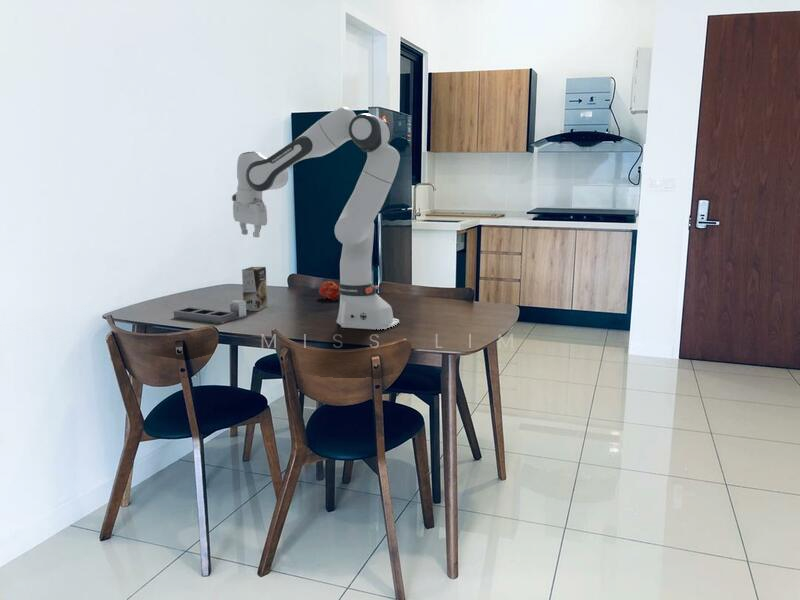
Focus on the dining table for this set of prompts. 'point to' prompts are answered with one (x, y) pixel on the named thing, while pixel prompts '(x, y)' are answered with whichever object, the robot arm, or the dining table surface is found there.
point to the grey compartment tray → (204, 315)
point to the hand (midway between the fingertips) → (250, 235)
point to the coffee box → (254, 288)
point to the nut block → (238, 307)
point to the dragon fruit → (329, 290)
